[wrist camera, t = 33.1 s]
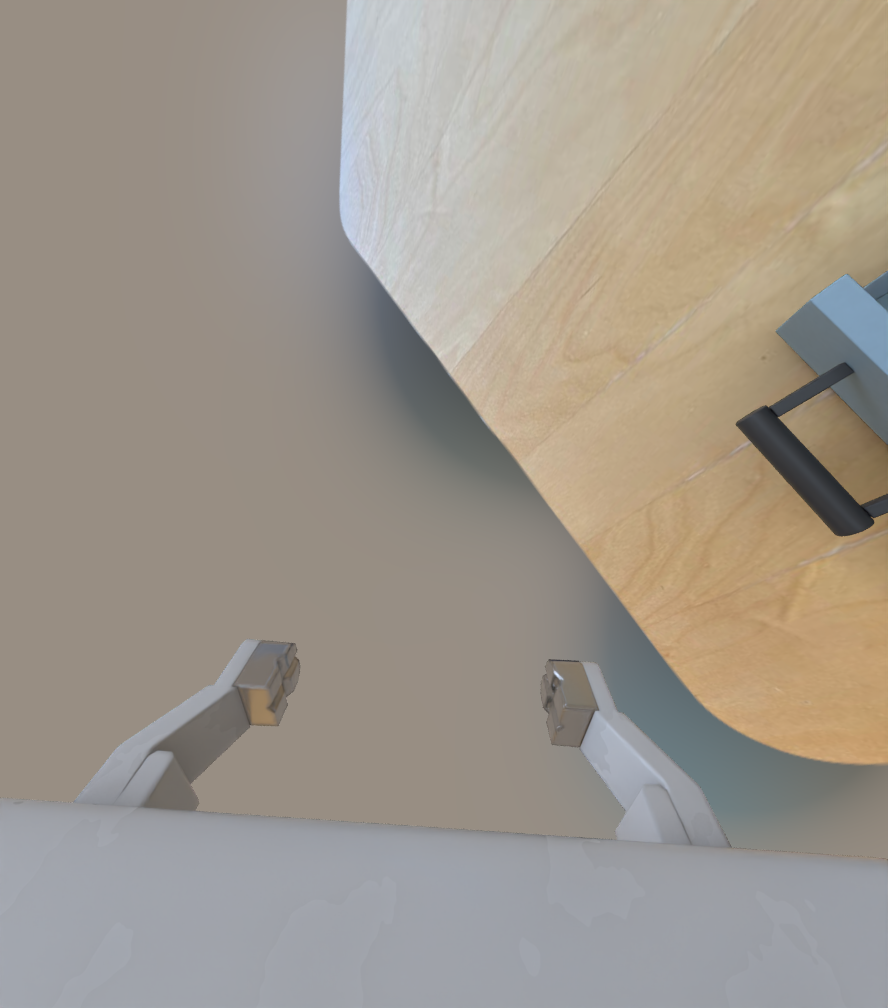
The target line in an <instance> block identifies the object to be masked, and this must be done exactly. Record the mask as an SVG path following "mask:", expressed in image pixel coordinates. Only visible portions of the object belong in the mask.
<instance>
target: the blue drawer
mask: <svg viewBox="0 0 888 1008" xmlns="http://www.w3.org/2000/svg"><path fill="white" fill-rule="evenodd" d="M776 333H777V334H778V335H779V336H780V337H781V338H782V339H783V340H784V341H785V342H786V343H787V344H788V345H789V346H790V347H791V348H792V349H793V350H794V351H795V352H796V353H797V354H798V355H799V356H800V357H801V358H802V359H803V360H804V361H805V362H806V363H807V364H808V365H809V366H810V367H811V368H812V369H813V370H814V371H815V372H816V373H817V374H818V375H819V377H817V378H816V379H814V380H812V381H811V382H809V383H807V384H806V385H804V386H803V387H801V388H799V389H798V390H796V391H794V392H793V393H791V394H790V395H788V396H786V397H785V398H783V399H781V400H780V401H778V402H776V403H775V404H773V405H772V406H770V407H769V408H768V407H767V406H766V405H765V406H762V407H760V408H758V409H757V410H755V411H753V412H751V413H750V414H748V415H747V416H745V417H743V418H742V419H740V420H739V421H738V422H737V423H736V426H737V427H738V428H739V429H740V430H741V431H742V432H743V433H744V434H745V436H746V437H747V438H748V439H749V440H750V441H751V442H752V443H753V444H754V445H755V447H756V448H757V449H758V450H759V451H760V452H761V453H762V454H763V455H764V457H765V458H766V459H767V460H768V461H769V462H770V463H771V464H772V465H773V466H774V468H775V469H776V470H777V471H778V472H779V473H780V474H781V475H782V476H783V478H784V479H785V480H786V481H787V482H788V483H789V484H790V485H791V486H792V487H793V489H794V490H795V491H796V492H797V493H798V494H799V495H800V496H801V497H802V498H803V500H804V501H805V502H806V503H807V504H808V505H809V506H810V507H811V508H812V510H813V511H814V512H815V513H816V514H817V515H818V516H819V517H820V518H821V519H822V521H823V522H824V523H825V524H826V525H827V526H828V527H829V528H830V529H831V531H832V532H833V533H834V534H835V535H837V536H848V535H853V534H856V533H859V532H862V531H864V530H866V529H868V528H870V527H871V526H872V525H873V524H874V520H873V519H872V518H871V517H873V518H876V517H878V516H881V515H883V514H886V513H888V494H886V495H883V496H881V497H879V498H876V499H874V500H871V501H869V502H867V503H864V504H862V505H859V504H858V503H857V502H856V501H855V500H854V498H853V497H852V496H851V495H850V494H849V493H848V492H847V491H846V490H845V489H844V488H843V487H842V486H841V485H840V483H839V482H838V481H837V480H836V479H835V478H834V477H833V476H832V475H831V474H830V473H829V472H828V471H827V470H826V469H825V467H824V466H823V465H822V464H821V463H820V462H819V461H818V460H817V459H816V458H815V457H814V456H813V455H812V454H811V452H810V451H809V450H808V449H807V448H806V447H805V446H804V445H803V444H802V443H801V442H800V441H799V440H798V439H797V438H796V436H795V435H794V434H793V433H792V432H791V431H790V430H789V429H788V428H787V427H786V426H785V425H784V424H783V423H782V421H781V420H780V419H779V418H778V417H780V416H781V415H783V414H785V413H786V412H788V411H790V410H792V409H793V408H795V407H797V406H798V405H800V404H802V403H803V402H805V401H807V400H808V399H810V398H812V397H814V396H815V395H817V394H819V393H820V392H822V391H824V390H825V389H827V388H829V387H831V388H832V389H833V390H834V391H835V392H836V393H837V394H838V395H839V396H840V397H841V398H842V399H843V400H844V401H845V403H846V404H847V405H848V406H849V407H850V408H851V409H852V410H853V411H854V412H855V413H856V414H857V415H858V416H859V417H860V418H861V419H862V420H863V421H864V422H865V423H866V424H867V425H868V426H869V427H870V428H871V429H872V430H873V431H874V432H875V433H876V434H877V435H878V436H879V437H880V438H881V439H882V440H883V441H884V442H885V443H886V444H887V445H888V271H886V272H885V273H884V274H882V275H881V276H879V277H878V278H876V279H875V280H874V281H872V282H871V283H869V284H868V285H866V286H865V287H864V288H862V287H861V286H860V285H859V284H858V283H857V282H856V281H855V280H854V279H853V278H851V277H850V276H849V275H848V274H845V275H843V276H842V277H841V278H839V279H838V280H836V281H835V282H834V283H832V284H831V285H830V286H828V287H827V288H825V289H824V290H823V291H821V292H820V293H819V294H817V295H816V296H814V297H813V298H812V299H810V300H809V301H808V302H807V303H806V304H805V305H804V306H803V307H801V308H800V309H799V310H798V311H797V312H796V313H795V314H794V315H793V316H792V317H790V318H789V319H788V320H787V321H786V322H785V323H784V324H783V325H782V326H780V327H779V328H778V329H777V330H776ZM870 516H871V517H870Z"/></svg>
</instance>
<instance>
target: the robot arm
mask: <svg viewBox="0 0 888 1008" xmlns="http://www.w3.org/2000/svg"><path fill="white" fill-rule="evenodd" d="M296 652H297V648H296V644H295V643H286V642H276V641H265V640H252V639H247V640H246V641H245V642H243V643H242V644H241V646H240V647H239V649H238V650H237V652H236V653H235V655H234V656H233V657H232V659H231V660H230V662H229V664H228V665H227V667H226V668H225V669H224V671H223V672H222V674H221V675H220V677H219V678H218V680H217V681H216V683H215V684H214V685H208V686H207V687H205V688H204V689H203V690H201V691H199V692H198V693H196V694H195V695H193V696H192V697H191V698H189V699H188V700H186V701H185V702H183V703H182V704H180V705H179V706H177V707H176V708H174V709H173V710H171V711H170V712H168V713H167V714H165V715H164V716H162V717H161V718H159V719H158V720H156V721H155V722H153V723H152V724H151V725H149V726H147V727H146V728H144V729H143V730H141V731H140V732H138V733H137V734H136V735H134V736H133V737H131V738H130V739H128V740H127V741H125V742H124V743H122V744H121V745H119V746H118V747H117V748H116V750H115V751H114V752H113V753H112V755H111V756H110V757H109V758H108V760H107V761H106V762H105V763H104V765H103V766H102V767H101V769H100V770H99V771H98V772H97V773H96V775H95V776H94V777H93V778H92V780H91V781H90V782H89V783H88V785H87V786H86V787H85V788H84V790H83V791H82V792H81V793H80V795H79V796H78V797H77V798H76V800H75V801H74V802H73V803H71V802H70V803H69V802H57V801H41V800H27V799H13V798H0V1008H888V859H884V858H876V857H863V856H862V857H861V856H844V855H829V854H815V853H801V852H787V851H772V850H757V849H742V848H732V847H731V845H730V843H729V841H728V839H727V837H726V835H725V833H724V832H723V829H722V828H721V826H720V824H719V822H718V820H717V818H716V816H715V814H714V812H713V810H712V808H711V806H710V804H709V803H708V801H707V799H706V797H705V795H704V793H703V791H702V789H701V787H700V786H699V785H698V784H697V783H696V782H695V781H694V780H693V779H692V778H691V777H690V776H689V775H688V774H687V773H685V771H684V770H682V769H681V768H680V767H679V766H678V765H677V764H676V763H675V762H674V761H673V760H672V759H671V758H670V757H669V756H668V755H667V754H666V753H665V752H664V751H663V750H662V749H661V748H660V747H658V746H657V745H656V744H655V743H654V742H653V741H652V740H651V739H650V738H649V737H648V736H647V735H646V734H645V733H644V732H643V731H642V730H641V729H639V727H638V726H637V725H635V724H634V723H633V722H632V721H631V720H630V719H629V718H628V717H627V716H626V715H625V714H624V713H620V712H618V710H617V708H616V705H615V703H614V701H613V698H612V696H611V694H610V691H609V689H608V686H607V684H606V682H605V679H604V677H603V675H602V672H601V670H600V667H599V665H598V664H597V663H596V662H581V661H580V662H579V661H569V660H550V659H549V660H548V661H547V663H546V666H545V668H546V672H547V674H545V675H544V676H543V677H542V681H541V699H542V704H543V708H544V709H545V710H546V711H547V712H548V714H549V715H548V719H547V727H548V731H549V735H550V740H551V744H552V745H560V746H571V747H580V750H581V752H582V753H583V755H584V756H585V757H586V759H587V760H588V761H589V763H590V764H591V765H592V767H593V768H594V769H595V771H596V772H597V773H598V775H599V776H600V777H601V779H602V780H603V781H604V783H605V784H606V786H607V787H608V788H609V790H610V791H611V792H612V794H613V795H614V796H615V798H616V799H617V800H618V802H619V803H620V804H621V806H622V807H623V808H624V810H625V811H626V814H625V816H624V817H623V819H622V821H621V822H620V824H619V825H618V827H617V829H616V830H615V834H616V837H617V840H612V839H598V838H583V837H568V836H554V835H539V834H525V833H509V832H495V831H481V830H467V829H452V828H438V827H423V826H408V825H393V824H379V823H364V822H363V823H362V822H348V821H335V820H320V819H305V818H291V817H276V816H260V815H247V814H231V813H217V812H203V811H195V810H196V808H197V806H198V805H199V801H198V797H197V795H196V794H195V792H194V790H193V788H192V786H191V783H192V782H193V781H194V780H195V779H196V778H197V777H198V776H199V775H200V774H201V773H202V772H204V771H205V770H206V769H207V768H208V767H209V766H210V765H211V764H212V763H213V762H214V761H215V760H216V759H217V758H218V757H219V756H220V755H221V754H222V753H223V752H224V751H226V750H227V749H228V748H229V747H230V746H231V745H232V744H233V743H234V742H235V741H236V740H237V739H238V738H239V737H240V736H241V735H242V734H243V733H244V732H245V731H246V730H247V729H249V728H250V725H258V726H279V723H280V721H281V719H282V716H283V714H284V712H285V710H286V708H287V706H288V703H287V700H286V697H287V696H288V695H290V694H291V693H292V692H293V691H294V689H295V687H296V685H297V683H298V678H299V674H300V662H299V660H298V659H297V658H296V657H295V654H296Z"/></svg>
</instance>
